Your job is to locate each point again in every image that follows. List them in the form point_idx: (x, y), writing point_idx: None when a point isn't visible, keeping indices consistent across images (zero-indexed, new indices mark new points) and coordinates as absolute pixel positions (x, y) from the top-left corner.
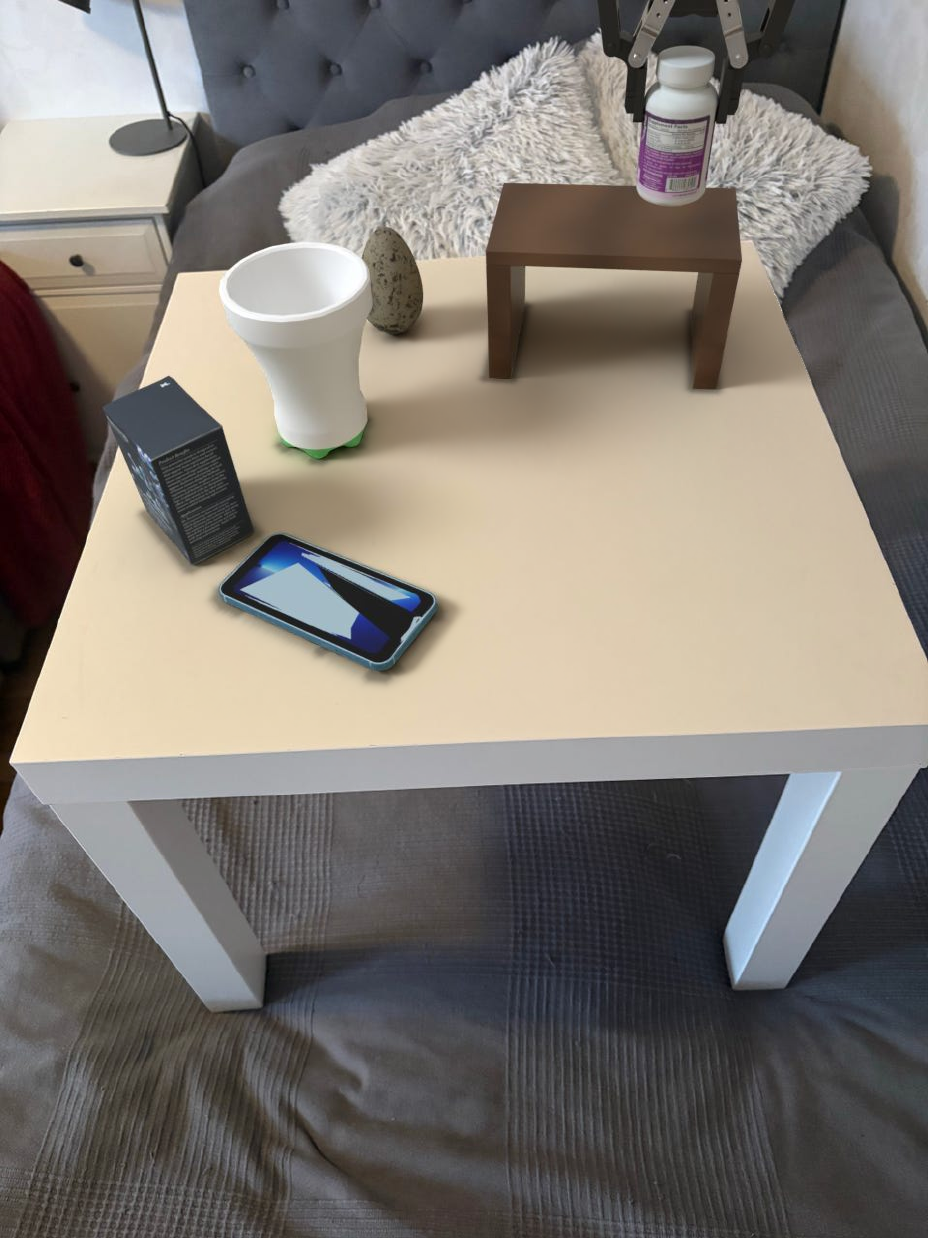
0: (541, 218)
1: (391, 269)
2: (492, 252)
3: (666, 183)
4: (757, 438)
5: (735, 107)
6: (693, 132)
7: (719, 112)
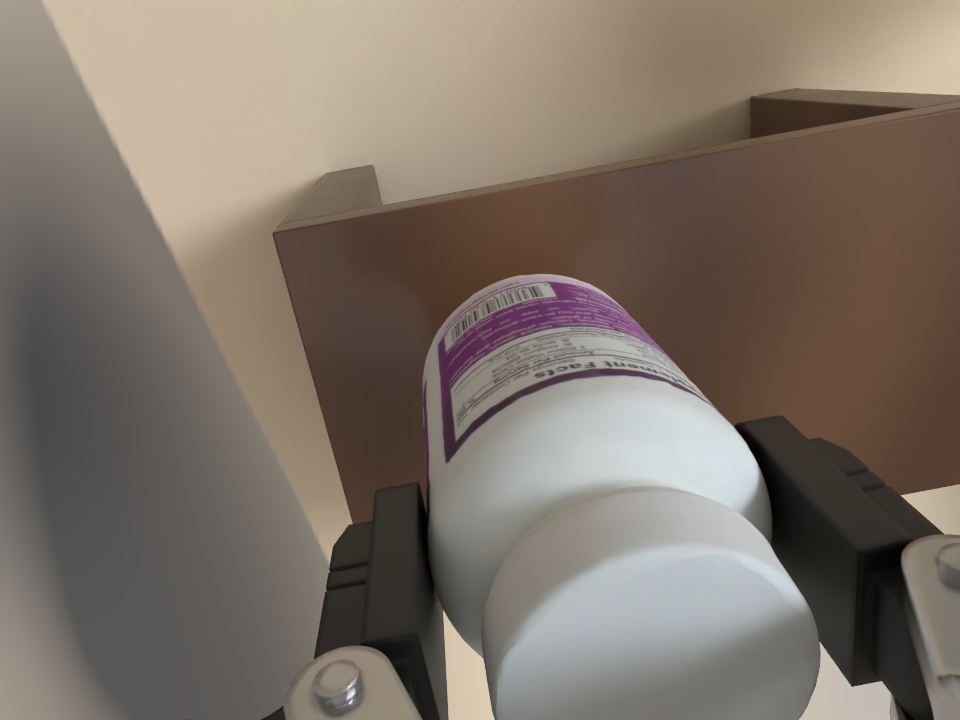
0: (864, 320)
1: None
2: None
3: (552, 290)
4: (203, 18)
5: (344, 542)
6: (501, 381)
7: (411, 503)
